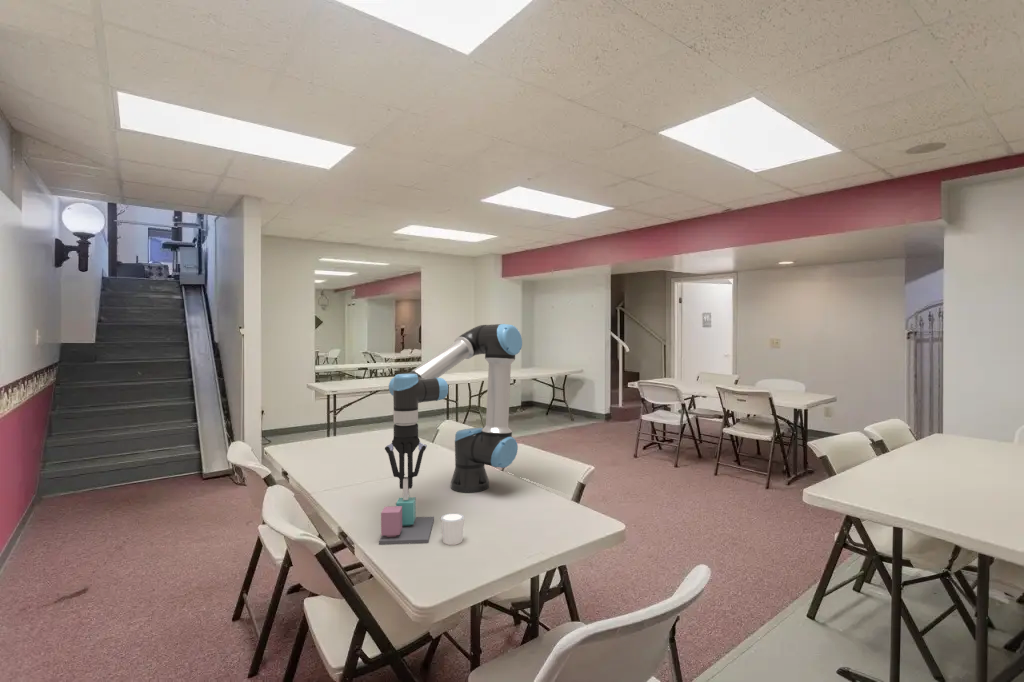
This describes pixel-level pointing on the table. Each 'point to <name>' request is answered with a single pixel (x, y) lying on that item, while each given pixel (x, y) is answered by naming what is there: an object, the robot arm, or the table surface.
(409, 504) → the teal rectangular prism
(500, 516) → the table surface
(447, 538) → the white cup
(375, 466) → the table surface
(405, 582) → the table surface
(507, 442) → the robot arm
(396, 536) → the stand
